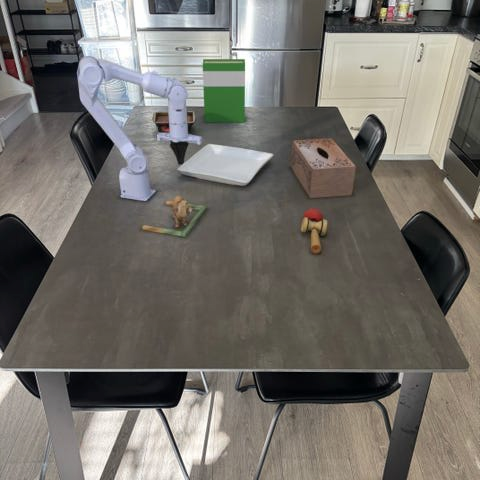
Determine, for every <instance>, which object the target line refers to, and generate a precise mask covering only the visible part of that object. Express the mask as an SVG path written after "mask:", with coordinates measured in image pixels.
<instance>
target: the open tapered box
mask: <svg viewBox="0 0 480 480" xmlns="http://www.w3.org/2000/svg"><path fill="white" fill-rule="evenodd" d="M196 116H197V115H196V114H195V111H192V110H191V111H189V110H187V125H188V134H190V133H189V132H190V131H191V129H192V127H193V125H194V124H195V123H196V121H197V119H196V118H197V117H196ZM151 119H152V122H153V123H154V124H155V127H156V128H157V132H158V133H170V127H169V114H168V111H156V112H154V113H153V114H152V117H151Z"/></svg>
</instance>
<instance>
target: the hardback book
mask: <svg viewBox="0 0 480 480" xmlns="http://www.w3.org/2000/svg"><path fill="white" fill-rule="evenodd" d="M202 61H203V62H202V83H203V84H202V85H203V87H202V89H203V111H204V112H203V113H204V115H203V116H204V123H245V121H246V59H245V58H203V59H202Z"/></svg>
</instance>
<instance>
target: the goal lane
mask: <svg viewBox="0 0 480 480" xmlns="http://www.w3.org/2000/svg"><path fill="white" fill-rule="evenodd" d="M187 204H188V205H189V206H190V207H192V208H193V210H196V211H198V212H197V213H196V214H195V215H194V217H193V218H192V219H191V220H190V221H189V222H188V224H187V225H185V228H184V229H183V230H176V229H171V228H164V227H158V226H153V225H146V224H143V225H142V227H141V228H142V230H143V231H147V232H153V233H154V232H155V233H160V234H165V235H172V236H178V237H184V238H185V237H186V236H187V235H188V233H190V231H191V230H192V228H193V227H194V226H195V225H196V223H197V222H198V221H199V220H200V218H201V217H202V216H203V215H204V213H206V211H207V210H208V208H207V205H199V204H192V203H187ZM165 205H166V206H171V207H173V201H172V200H166V201H165Z"/></svg>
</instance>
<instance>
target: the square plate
mask: <svg viewBox="0 0 480 480" xmlns="http://www.w3.org/2000/svg"><path fill="white" fill-rule="evenodd" d="M273 157H274V154H273V153H271V152H264V151H259V150H255V149H250V148H249V149H248V148H242V147H236V146H231V145H230V146H229V145H220V144H213V143H207V144H206V145H204V146H203V147H202V148H200V149H199V150H198V151H197V152H195V153H194V154H193V155H191V157H189V158H188V159H187V160H186V161H184V163H183V164H182V165H180V166H179V167H178V168H177V169H176V170H177V172H179V173H180V174H182V175H184V176H188V177H192V178H196V179H199V180H204V181H210V182H216V183H222V184H227V185H232V186H240V187H244V186H247V185H248V184H249V183H250V182H251V181H252V180H253V179H254V177H255V176H256V175H257V174H258V173H259V172H260V170H261V169H263V167H265V166H266V165H267V164H268V163H269V162H270V161H271V159H272V158H273Z"/></svg>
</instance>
